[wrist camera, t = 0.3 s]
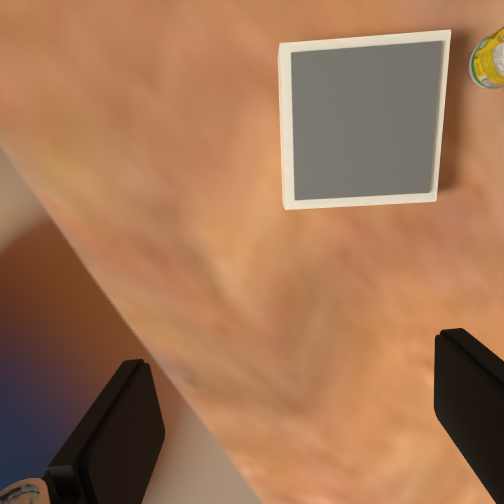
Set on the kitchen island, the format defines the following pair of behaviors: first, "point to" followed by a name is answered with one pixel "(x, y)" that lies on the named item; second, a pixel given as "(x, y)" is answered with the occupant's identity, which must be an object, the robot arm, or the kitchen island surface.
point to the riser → (362, 119)
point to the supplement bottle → (488, 61)
